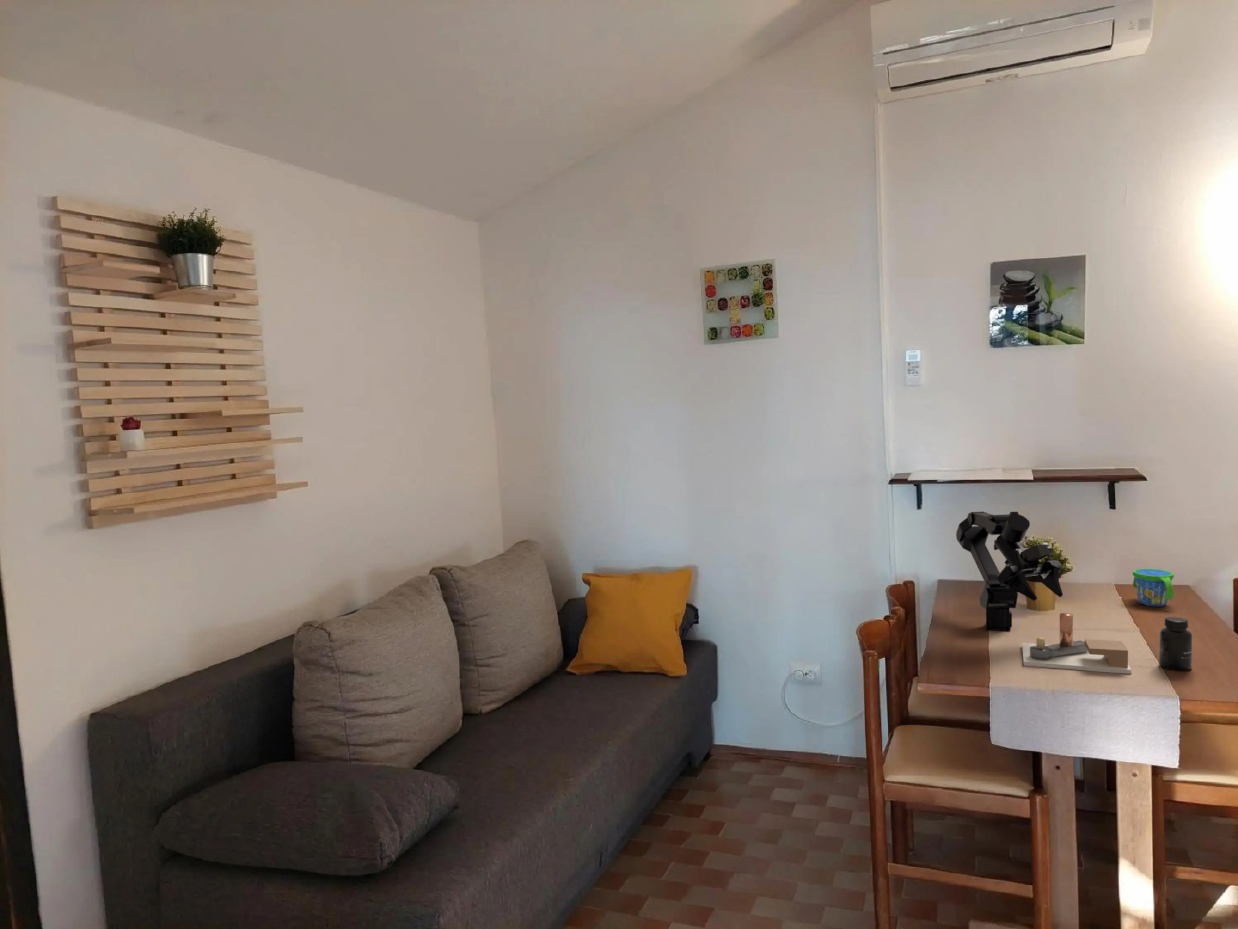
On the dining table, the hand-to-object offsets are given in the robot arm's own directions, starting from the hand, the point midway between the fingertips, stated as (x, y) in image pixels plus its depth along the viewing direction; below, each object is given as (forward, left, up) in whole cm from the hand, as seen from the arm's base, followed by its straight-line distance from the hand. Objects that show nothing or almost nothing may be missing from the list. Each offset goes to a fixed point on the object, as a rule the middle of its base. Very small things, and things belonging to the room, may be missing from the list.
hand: (1048, 597), depth 231 cm
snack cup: (+32, +56, -14) cm, 66 cm away
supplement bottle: (+28, -8, -14) cm, 32 cm away
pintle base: (+5, -8, -14) cm, 17 cm away
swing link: (+2, -8, -13) cm, 15 cm away
